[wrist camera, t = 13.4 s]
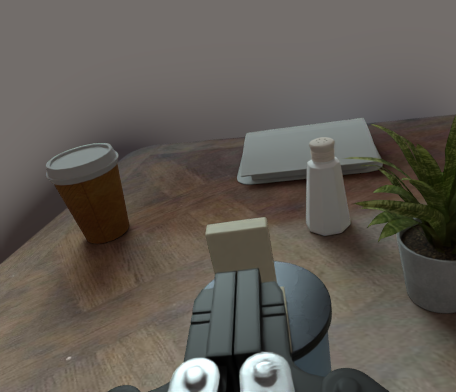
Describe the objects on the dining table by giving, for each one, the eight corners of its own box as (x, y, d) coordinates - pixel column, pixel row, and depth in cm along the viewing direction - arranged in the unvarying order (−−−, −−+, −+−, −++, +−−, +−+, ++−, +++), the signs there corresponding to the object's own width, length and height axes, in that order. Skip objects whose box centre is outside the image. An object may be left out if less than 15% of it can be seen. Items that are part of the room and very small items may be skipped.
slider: (292, 354, 18) (272, 226, 15) (231, 360, 18) (199, 235, 15) (285, 293, 22) (267, 179, 18) (234, 298, 22) (208, 187, 19)
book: (244, 150, 77) (240, 130, 75) (368, 134, 72) (368, 113, 71) (234, 186, 64) (230, 164, 62) (387, 170, 59) (387, 145, 57)
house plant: (368, 232, 46) (364, 93, 39) (513, 248, 40) (542, 83, 32) (339, 321, 36) (327, 152, 28) (532, 362, 29) (581, 155, 22)
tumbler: (355, 503, 23) (344, 352, 18) (230, 509, 24) (182, 366, 19) (331, 390, 30) (318, 253, 24) (234, 397, 31) (199, 267, 25)
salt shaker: (353, 213, 51) (349, 130, 46) (348, 237, 46) (343, 149, 41) (310, 211, 53) (302, 133, 48) (301, 235, 48) (292, 151, 43)
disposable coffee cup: (97, 215, 64) (70, 144, 58) (150, 213, 61) (127, 139, 55) (61, 250, 56) (26, 173, 50) (121, 251, 53) (90, 168, 47)
